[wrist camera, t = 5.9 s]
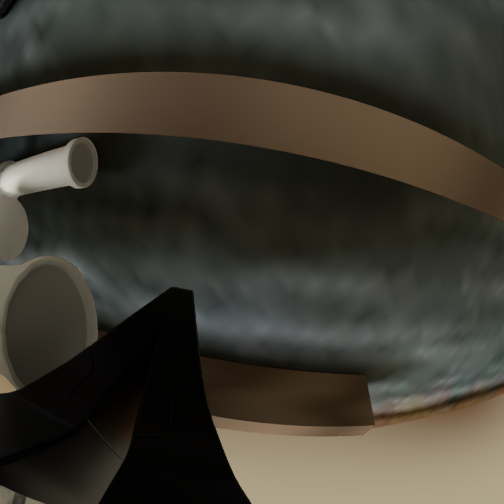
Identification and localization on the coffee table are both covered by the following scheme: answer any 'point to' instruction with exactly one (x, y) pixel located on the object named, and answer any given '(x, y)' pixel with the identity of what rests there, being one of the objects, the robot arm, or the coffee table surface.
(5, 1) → the small box
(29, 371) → the white tube assembly
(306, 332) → the coffee table surface
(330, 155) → the parallel wooden rails
